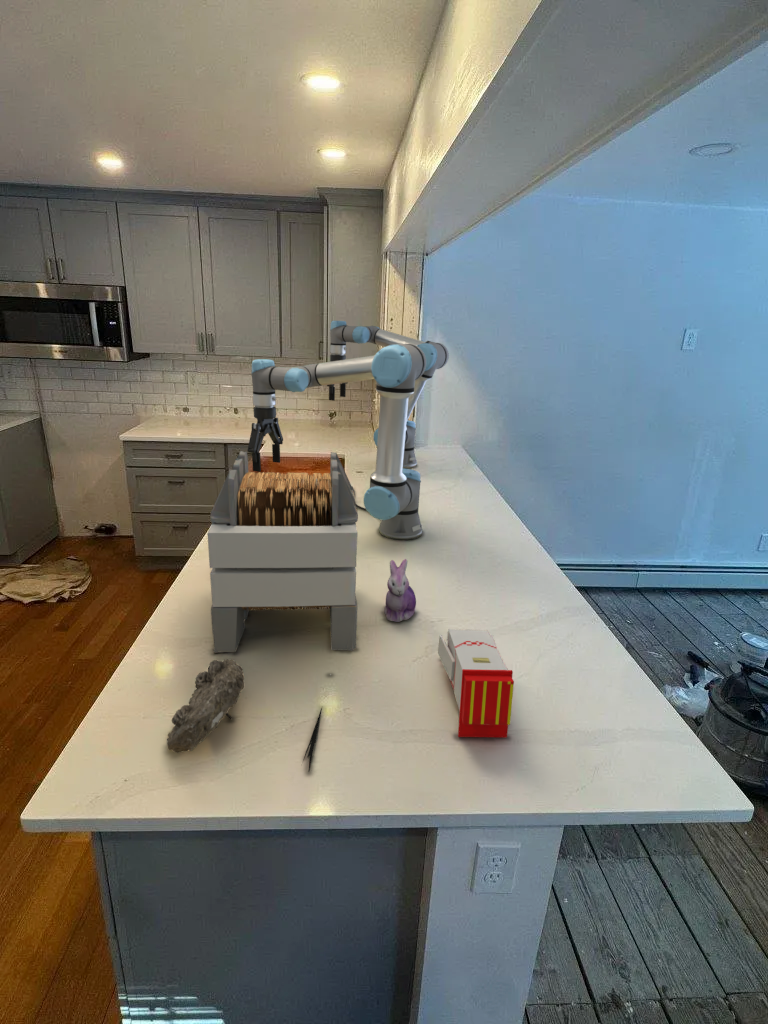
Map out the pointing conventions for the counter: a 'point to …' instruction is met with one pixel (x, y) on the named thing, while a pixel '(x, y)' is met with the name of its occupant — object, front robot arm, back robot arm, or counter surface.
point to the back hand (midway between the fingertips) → (337, 398)
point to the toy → (478, 682)
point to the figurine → (399, 594)
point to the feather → (313, 740)
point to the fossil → (206, 705)
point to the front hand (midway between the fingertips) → (267, 466)
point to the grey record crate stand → (283, 549)
